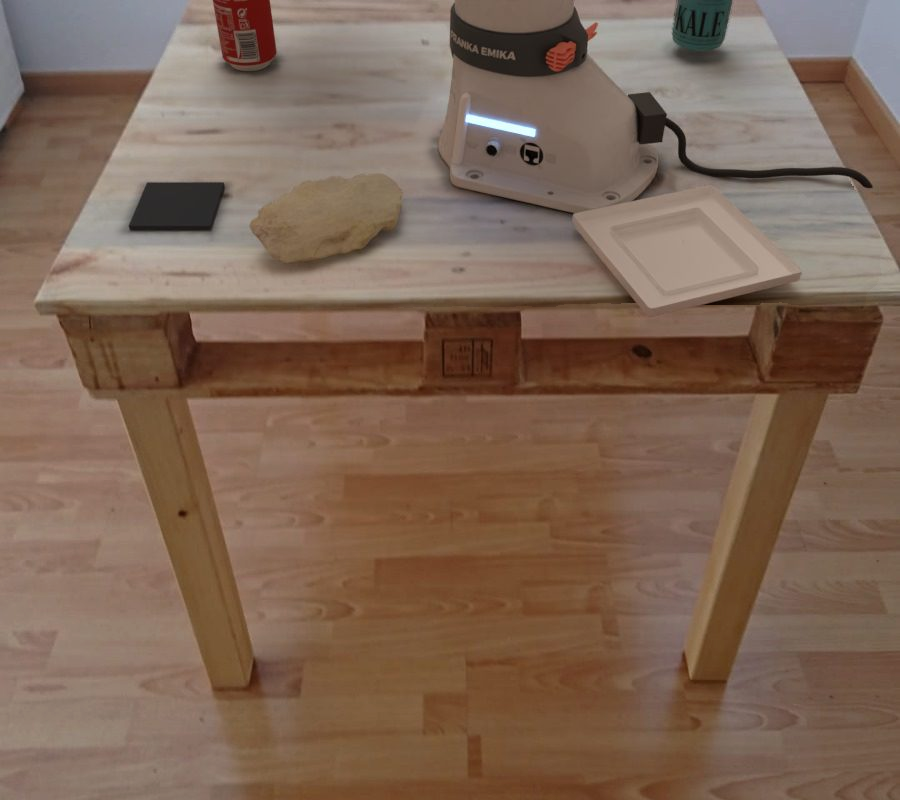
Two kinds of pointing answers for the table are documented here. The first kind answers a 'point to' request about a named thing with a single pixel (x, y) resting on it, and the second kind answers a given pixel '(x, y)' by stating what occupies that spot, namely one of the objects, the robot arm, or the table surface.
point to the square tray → (684, 250)
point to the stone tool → (328, 217)
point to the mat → (177, 206)
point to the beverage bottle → (701, 23)
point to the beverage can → (245, 33)
